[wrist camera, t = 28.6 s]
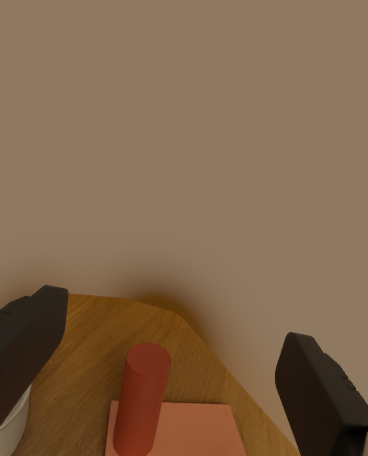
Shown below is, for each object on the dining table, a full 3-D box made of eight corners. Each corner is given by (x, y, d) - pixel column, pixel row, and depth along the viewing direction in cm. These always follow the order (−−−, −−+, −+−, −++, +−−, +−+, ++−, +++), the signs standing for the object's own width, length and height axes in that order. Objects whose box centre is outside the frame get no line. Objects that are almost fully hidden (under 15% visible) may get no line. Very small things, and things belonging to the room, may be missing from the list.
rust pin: (152, 421, 34) (168, 343, 32) (154, 460, 30) (173, 375, 27) (114, 420, 34) (127, 341, 31) (110, 461, 29) (125, 372, 27)
